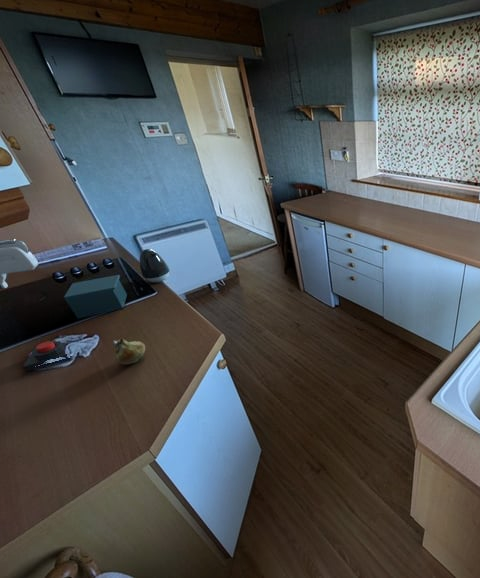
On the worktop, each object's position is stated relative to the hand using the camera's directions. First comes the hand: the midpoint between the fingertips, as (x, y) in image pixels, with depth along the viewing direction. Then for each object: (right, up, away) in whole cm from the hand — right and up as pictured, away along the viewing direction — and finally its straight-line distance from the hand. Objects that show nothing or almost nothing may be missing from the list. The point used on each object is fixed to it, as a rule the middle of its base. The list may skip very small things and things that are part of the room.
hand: (0, 288), depth 85 cm
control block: (+7, -22, +8) cm, 24 cm away
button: (+7, -19, +6) cm, 21 cm away
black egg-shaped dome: (+8, +4, +51) cm, 51 cm away
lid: (0, +1, +28) cm, 28 cm away
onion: (+33, -23, +7) cm, 41 cm away
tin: (0, -7, +32) cm, 33 cm away
